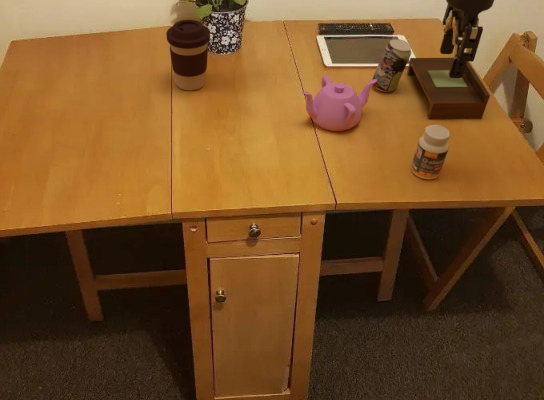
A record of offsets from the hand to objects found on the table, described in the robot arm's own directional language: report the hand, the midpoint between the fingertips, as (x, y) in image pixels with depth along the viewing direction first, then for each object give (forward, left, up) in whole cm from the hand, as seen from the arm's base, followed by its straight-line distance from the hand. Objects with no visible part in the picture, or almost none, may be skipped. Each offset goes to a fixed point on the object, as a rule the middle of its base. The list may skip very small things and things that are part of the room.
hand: (450, 64), depth 104 cm
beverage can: (+21, -19, -23) cm, 36 cm away
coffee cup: (+56, +13, -23) cm, 62 cm away
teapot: (+22, 0, -23) cm, 31 cm away
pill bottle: (-2, +2, -23) cm, 23 cm away
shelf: (+10, -26, -22) cm, 36 cm away
